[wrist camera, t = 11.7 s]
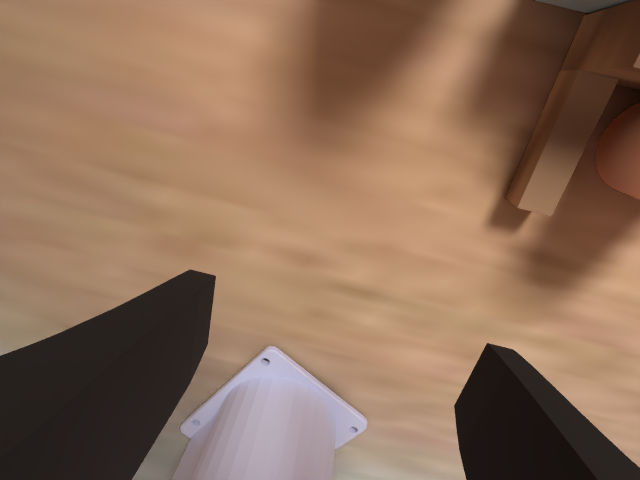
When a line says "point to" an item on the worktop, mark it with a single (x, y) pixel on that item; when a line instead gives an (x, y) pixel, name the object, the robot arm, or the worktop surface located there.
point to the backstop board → (586, 4)
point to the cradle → (578, 104)
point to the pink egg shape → (621, 153)
